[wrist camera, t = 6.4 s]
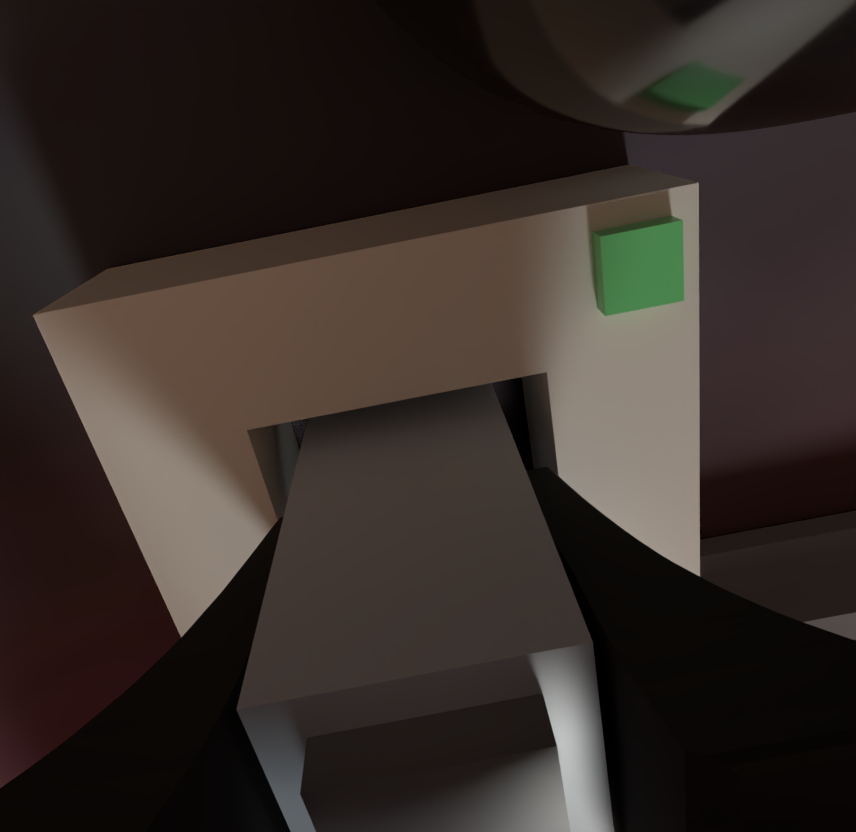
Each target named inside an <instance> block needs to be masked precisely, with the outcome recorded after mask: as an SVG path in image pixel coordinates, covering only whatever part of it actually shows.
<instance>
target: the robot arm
mask: <svg viewBox="0 0 856 832" xmlns="http://www.w3.org/2000/svg"><path fill="white" fill-rule="evenodd" d="M526 472H527V475H528V477H529V480H530V482H531V485H532V488H533V490H534V493H535V495H536V498H537V500H538V503H539V506H540V508H541V511H542V513H543V516H544V518H545V521H546V523H547V526H548V529H549V531H550V534H551V536H552V539H553V541H554V544H555V546H556V549H557V552H558V554H559V557H560V559H561V562H562V564H563V567H564V570H565V572H566V575H567V577H568V580H569V582H570V585H571V587H572V590H573V593H574V595H575V598H576V600H577V603H578V605H579V608H580V611H581V613H582V616H583V618H584V621H585V623H586V626H587V628H588V631H589V634H590V636H591V639H592V641H593V648H594V657H595V666H596V675H597V684H598V693H599V702H600V711H601V720H602V729H603V738H604V747H605V756H606V765H607V774H608V783H609V791H610V800H611V809H612V818H613V826H614V829H615V832H856V640H853V639H849V638H847V637H844V636H841V635H838V634H835V633H832V632H829V631H826V630H824V629H821V628H818V627H815V626H812V625H809V624H806V623H804V622H801V621H798V620H796V619H793V618H791V617H788V616H785V615H783V614H780V613H778V612H775V611H773V610H770V609H768V608H766V607H763V606H761V605H759V604H757V603H754V602H752V601H750V600H748V599H745V598H743V597H741V596H738V595H736V594H734V593H732V592H729V591H727V590H725V589H723V588H721V587H719V586H717V585H715V584H713V583H711V582H709V581H707V580H705V579H703V578H701V577H700V576H698V575H696V574H694V573H692V572H690V571H688V570H687V569H685V568H683V567H681V566H679V565H677V564H676V563H674V562H672V561H670V560H669V559H667V558H665V557H664V556H662V555H660V554H659V553H657V552H656V551H654V550H653V549H651V548H650V547H648V546H647V545H645V544H644V543H642V542H641V541H639V540H638V539H636V538H635V537H633V536H632V535H631V534H629V533H628V532H626V531H625V530H624V529H622V528H621V527H620V526H618V525H617V524H616V523H614V522H613V521H612V520H610V519H609V518H608V517H606V516H605V515H604V514H603V513H601V512H600V511H599V510H597V509H596V508H595V507H594V506H592V505H591V504H590V503H589V502H588V501H586V500H585V499H584V498H583V497H582V496H581V495H579V494H578V493H577V492H576V491H575V490H574V489H572V488H571V487H570V486H569V485H568V484H567V483H566V482H565V481H563V480H562V479H561V478H560V477H559V476H558V475H557V474H556V473H555V472H554V471H552V470H551V469H549V468H548V467H542V468H537V469H532V470H527V471H526ZM282 521H283V517H280V518H279V520H278V521H277V522H276V523H275V524H274V526H273V527H272V528H271V529H270V531H269V532H268V533H267V535H266V536H265V537H264V539H263V540H262V541H261V542H260V544H259V545H258V546H257V548H256V549H255V550H254V552H253V553H252V554H251V556H250V557H249V558H248V559H247V561H246V562H245V563H244V564H243V566H242V567H241V568H240V569H239V571H238V572H237V573H236V575H235V576H234V577H233V578H232V580H231V581H230V582H229V583H228V585H227V586H226V587H225V588H224V590H223V591H222V592H221V593H220V594H219V595H218V597H217V598H216V599H215V600H214V601H213V602H212V603H211V605H210V606H209V607H208V608H207V609H206V610H205V611H204V612H203V614H202V615H201V616H200V617H199V618H198V619H197V620H196V622H195V623H194V624H193V625H192V626H191V627H190V628H189V629H188V631H187V632H186V633H185V634H184V635H183V636H182V637H181V638H180V639H179V640H178V641H177V642H176V643H175V645H174V646H173V647H172V648H171V649H170V650H169V651H168V652H167V653H166V654H165V655H164V656H163V657H162V658H161V659H160V660H159V661H158V662H156V663H155V664H154V665H153V666H152V667H151V668H150V669H149V670H148V671H147V672H146V673H145V674H144V675H143V676H142V677H141V678H140V679H139V680H137V681H136V682H135V683H134V684H133V685H132V686H131V687H130V688H129V689H128V690H126V691H125V692H124V693H123V694H122V695H121V696H119V697H118V698H117V699H116V700H115V701H113V702H112V703H111V704H110V705H109V706H107V707H106V708H105V709H104V710H103V711H101V712H100V713H99V714H98V715H97V716H95V717H94V718H93V719H92V720H91V721H89V722H88V723H87V724H86V725H85V726H83V727H82V728H81V729H80V730H79V731H77V732H76V733H75V734H74V735H73V736H71V737H70V738H69V739H67V740H66V741H65V742H64V743H62V744H61V745H60V746H58V747H57V748H56V749H54V750H53V751H52V752H50V753H49V754H48V755H46V756H45V757H43V758H42V759H41V760H39V761H38V762H37V763H35V764H34V765H33V766H31V767H30V768H29V769H27V770H26V771H24V772H23V773H21V774H20V775H19V776H17V777H16V778H14V779H13V780H12V781H10V782H9V783H7V784H6V785H4V786H3V787H2V788H0V832H291V831H290V829H289V827H288V824H287V822H286V820H285V818H284V815H283V813H282V811H281V809H280V806H279V804H278V802H277V800H276V797H275V795H274V793H273V791H272V788H271V786H270V784H269V782H268V779H267V777H266V775H265V773H264V770H263V768H262V766H261V764H260V761H259V759H258V757H257V755H256V752H255V750H254V748H253V746H252V743H251V741H250V739H249V737H248V734H247V732H246V730H245V728H244V725H243V723H242V721H241V719H240V716H239V714H238V712H237V710H236V709H237V705H238V701H239V697H240V693H241V689H242V685H243V681H244V677H245V673H246V668H247V664H248V660H249V656H250V652H251V648H252V644H253V640H254V636H255V632H256V628H257V624H258V619H259V615H260V611H261V607H262V603H263V599H264V595H265V591H266V587H267V583H268V579H269V574H270V570H271V566H272V562H273V558H274V554H275V550H276V546H277V542H278V538H279V534H280V529H281V525H282Z"/></svg>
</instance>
